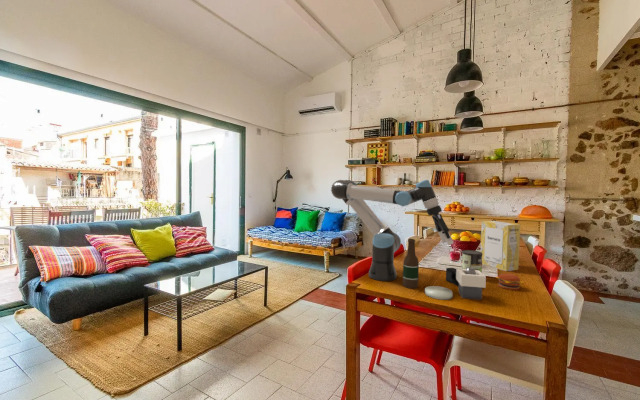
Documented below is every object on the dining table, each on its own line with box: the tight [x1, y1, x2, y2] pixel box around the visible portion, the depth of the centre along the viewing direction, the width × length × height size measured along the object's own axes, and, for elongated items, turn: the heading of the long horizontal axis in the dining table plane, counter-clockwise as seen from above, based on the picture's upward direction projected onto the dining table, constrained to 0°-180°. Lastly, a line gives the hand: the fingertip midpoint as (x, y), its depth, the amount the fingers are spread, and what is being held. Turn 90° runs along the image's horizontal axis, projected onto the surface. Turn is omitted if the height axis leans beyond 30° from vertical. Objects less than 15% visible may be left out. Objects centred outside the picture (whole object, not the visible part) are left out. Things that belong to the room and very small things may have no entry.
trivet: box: [424, 285, 454, 301], centre depth 138 cm, size 12×12×2 cm
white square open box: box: [455, 268, 487, 289], centre depth 137 cm, size 10×10×5 cm
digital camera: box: [445, 267, 459, 288], centre depth 154 cm, size 10×5×7 cm, turn 15°
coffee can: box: [461, 249, 483, 274], centre depth 166 cm, size 10×10×14 cm
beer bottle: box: [402, 238, 420, 289], centre depth 149 cm, size 8×8×24 cm
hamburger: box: [495, 273, 524, 291], centre depth 150 cm, size 9×10×7 cm
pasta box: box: [480, 220, 521, 272], centre depth 187 cm, size 18×10×28 cm, turn 20°
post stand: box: [457, 267, 483, 301], centre depth 137 cm, size 8×8×13 cm
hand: (448, 243), depth 160 cm, fingers open, 13 cm apart
